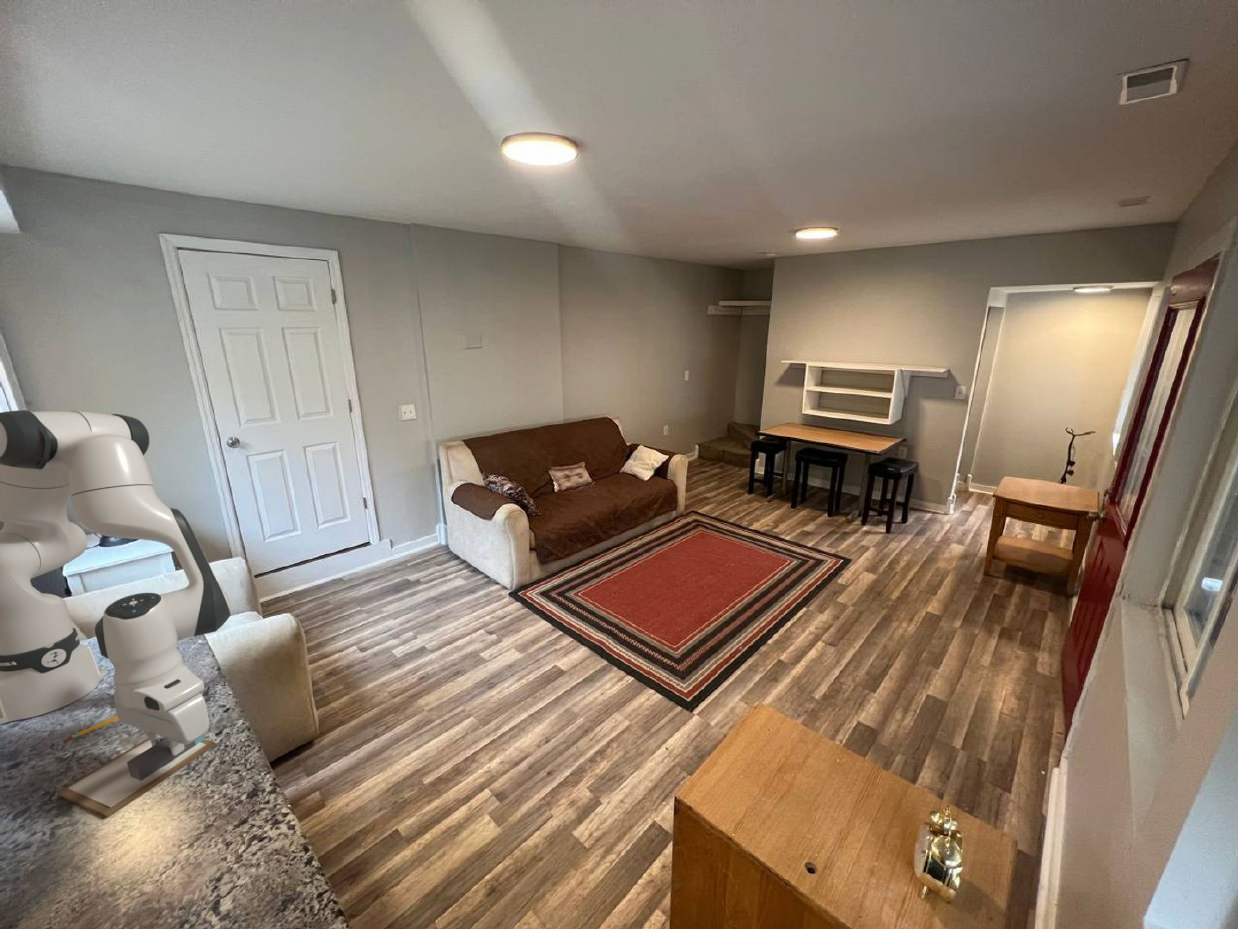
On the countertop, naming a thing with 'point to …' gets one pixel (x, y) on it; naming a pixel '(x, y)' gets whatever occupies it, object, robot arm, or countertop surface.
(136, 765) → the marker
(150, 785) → the board
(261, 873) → the countertop surface
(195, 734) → the robot arm
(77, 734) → the pencil
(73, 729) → the countertop surface
